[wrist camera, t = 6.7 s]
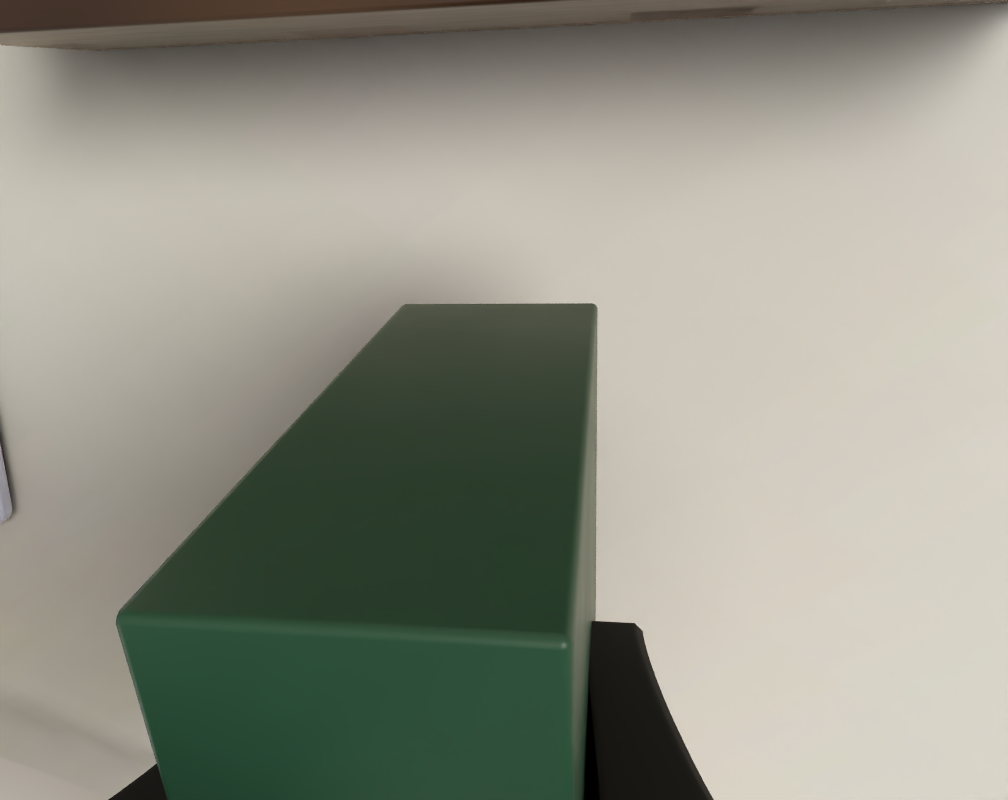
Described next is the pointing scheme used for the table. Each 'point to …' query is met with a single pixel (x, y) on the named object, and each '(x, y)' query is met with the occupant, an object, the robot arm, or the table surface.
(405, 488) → the green book
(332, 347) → the table surface
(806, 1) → the book rack
